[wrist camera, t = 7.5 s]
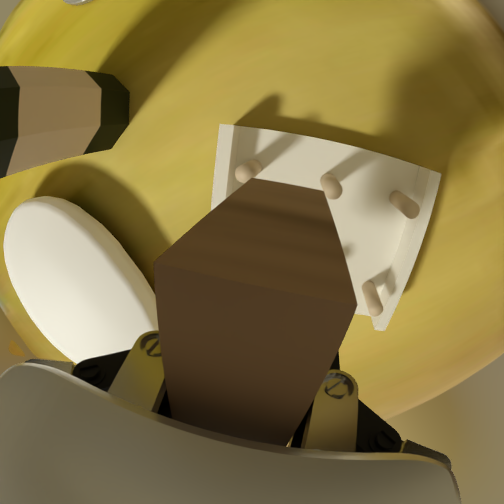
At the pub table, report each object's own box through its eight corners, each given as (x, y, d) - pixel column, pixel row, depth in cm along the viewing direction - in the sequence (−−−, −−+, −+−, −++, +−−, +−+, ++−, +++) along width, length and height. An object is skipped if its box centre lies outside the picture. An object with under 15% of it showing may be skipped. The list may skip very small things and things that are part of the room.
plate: (204, 350, 24) (110, 401, 35) (218, 306, 30) (124, 373, 41) (5, 157, 17) (-12, 289, 27) (46, 143, 22) (11, 269, 33)
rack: (232, 125, 20) (213, 123, 16) (423, 167, 18) (450, 177, 14) (216, 277, 26) (199, 307, 22) (377, 308, 24) (387, 342, 20)
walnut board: (252, 177, 11) (153, 262, 4) (323, 191, 11) (357, 304, 4) (229, 352, 15) (185, 472, 8) (279, 362, 15) (256, 489, 8)
